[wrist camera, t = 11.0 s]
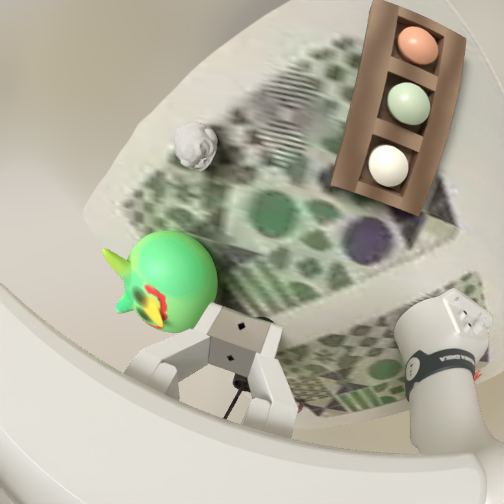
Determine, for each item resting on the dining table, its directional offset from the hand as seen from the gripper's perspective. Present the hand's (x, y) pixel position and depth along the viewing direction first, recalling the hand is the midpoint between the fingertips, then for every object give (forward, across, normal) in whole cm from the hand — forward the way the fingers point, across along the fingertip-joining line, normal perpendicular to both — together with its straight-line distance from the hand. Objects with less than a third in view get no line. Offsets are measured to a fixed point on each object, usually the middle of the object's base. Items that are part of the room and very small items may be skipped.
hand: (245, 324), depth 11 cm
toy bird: (+29, +17, +22) cm, 40 cm away
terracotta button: (+27, -9, -20) cm, 35 cm away
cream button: (+27, -9, -4) cm, 29 cm away
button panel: (+29, -9, -12) cm, 33 cm away
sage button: (+26, -9, -12) cm, 30 cm away
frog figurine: (+29, +15, 0) cm, 33 cm away
